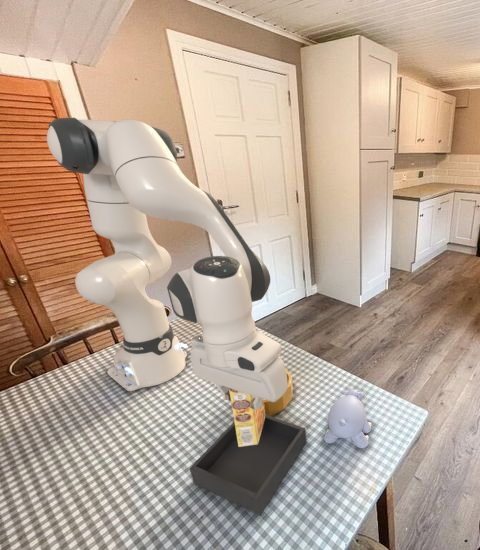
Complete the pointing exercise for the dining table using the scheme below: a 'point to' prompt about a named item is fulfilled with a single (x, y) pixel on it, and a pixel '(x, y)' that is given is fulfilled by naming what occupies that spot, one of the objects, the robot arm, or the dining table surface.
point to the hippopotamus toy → (348, 419)
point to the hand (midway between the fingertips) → (243, 402)
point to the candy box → (246, 418)
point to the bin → (250, 464)
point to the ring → (280, 404)
